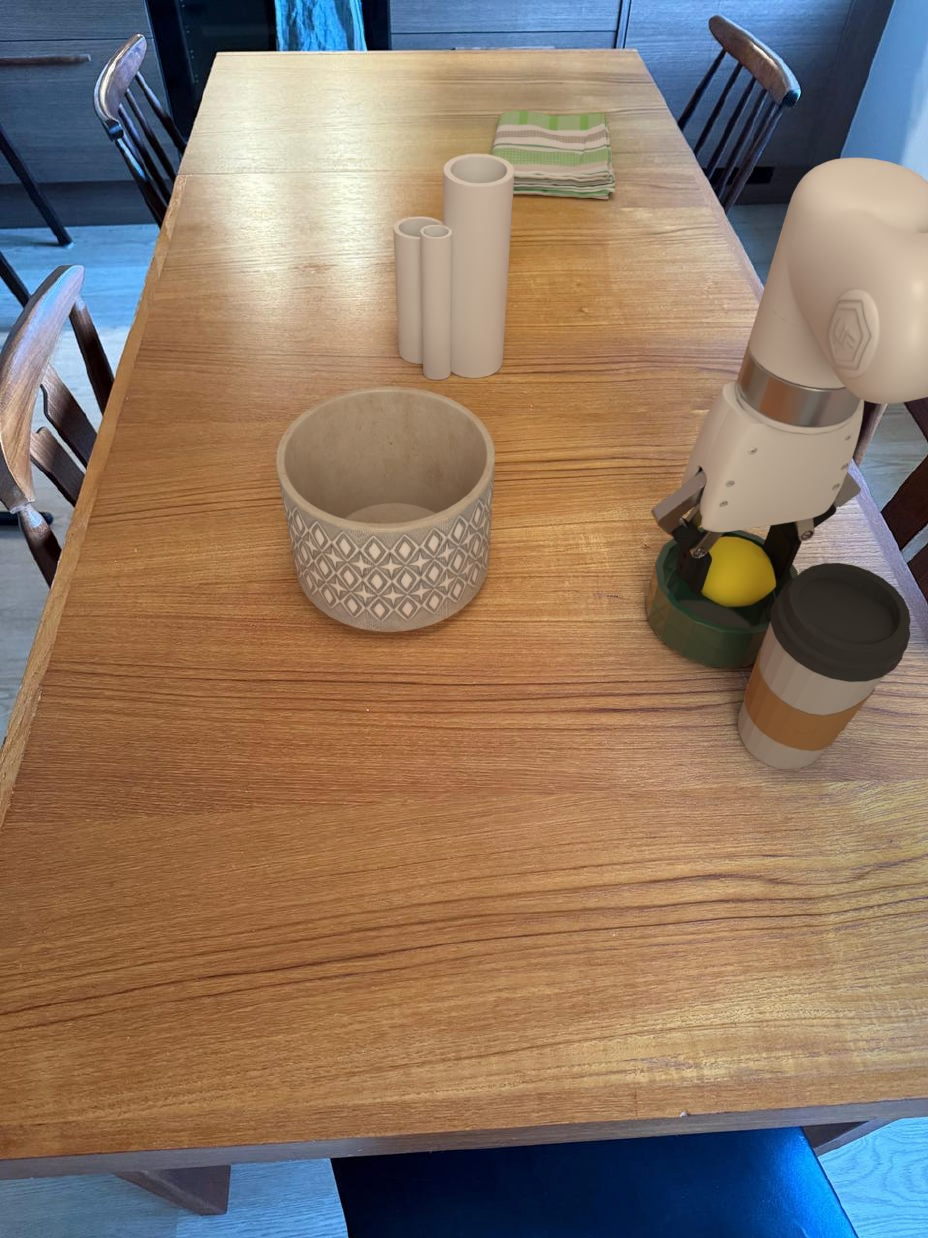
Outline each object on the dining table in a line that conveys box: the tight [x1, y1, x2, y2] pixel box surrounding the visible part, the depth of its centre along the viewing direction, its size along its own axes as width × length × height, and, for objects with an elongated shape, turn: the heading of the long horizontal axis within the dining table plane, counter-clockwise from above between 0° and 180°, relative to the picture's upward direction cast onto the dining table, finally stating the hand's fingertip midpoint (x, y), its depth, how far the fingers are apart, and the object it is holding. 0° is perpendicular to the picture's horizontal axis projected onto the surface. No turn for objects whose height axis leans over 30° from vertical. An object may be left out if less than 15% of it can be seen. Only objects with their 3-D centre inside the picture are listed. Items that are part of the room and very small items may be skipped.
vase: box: [392, 153, 514, 381], centre depth 88 cm, size 11×7×20 cm, turn 89°
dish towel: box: [490, 110, 617, 200], centre depth 126 cm, size 17×23×4 cm
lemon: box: [701, 537, 776, 607], centre depth 69 cm, size 7×5×5 cm
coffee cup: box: [737, 562, 911, 770], centre depth 61 cm, size 8×8×15 cm
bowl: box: [645, 526, 799, 669], centre depth 72 cm, size 11×11×5 cm
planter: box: [275, 385, 496, 633], centre depth 72 cm, size 16×16×13 cm
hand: (731, 571), depth 70 cm, fingers open, 6 cm apart
